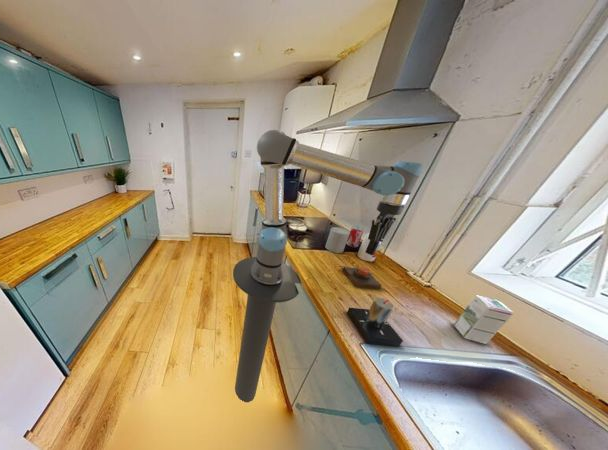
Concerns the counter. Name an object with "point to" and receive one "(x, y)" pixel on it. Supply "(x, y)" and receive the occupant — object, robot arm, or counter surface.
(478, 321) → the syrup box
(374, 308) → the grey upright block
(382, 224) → the robot arm
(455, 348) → the counter surface
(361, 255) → the milk bottle
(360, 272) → the dispense button
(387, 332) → the control panel
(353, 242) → the soda can
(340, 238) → the grey cylinder
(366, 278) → the dark square plate
